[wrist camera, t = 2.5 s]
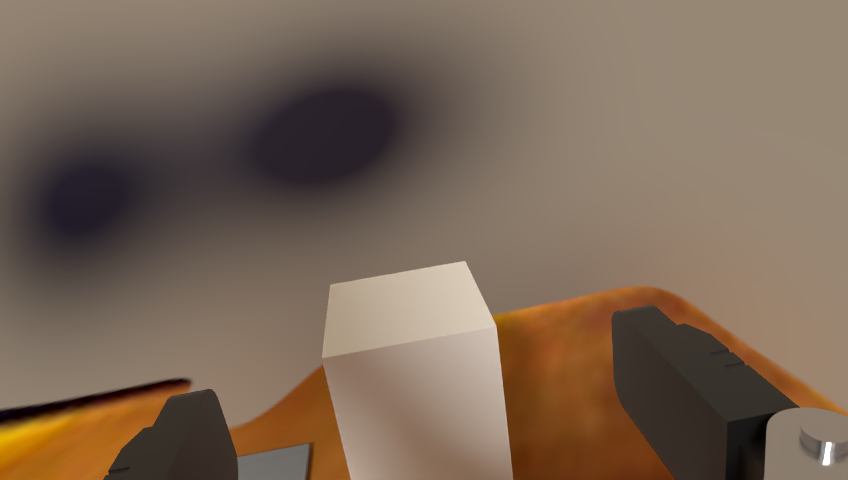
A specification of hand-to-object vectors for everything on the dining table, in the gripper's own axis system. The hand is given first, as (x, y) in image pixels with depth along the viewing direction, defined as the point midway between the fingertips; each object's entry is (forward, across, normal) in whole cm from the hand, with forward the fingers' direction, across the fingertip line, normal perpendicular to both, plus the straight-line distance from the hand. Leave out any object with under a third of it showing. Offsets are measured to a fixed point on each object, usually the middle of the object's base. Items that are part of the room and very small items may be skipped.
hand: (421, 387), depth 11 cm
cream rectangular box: (+12, 0, +16) cm, 19 cm away
